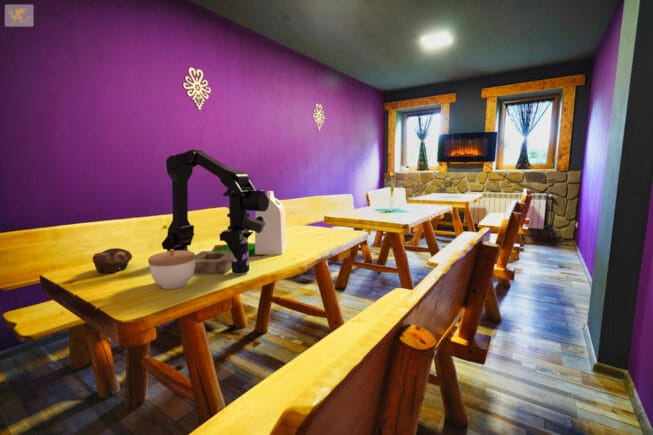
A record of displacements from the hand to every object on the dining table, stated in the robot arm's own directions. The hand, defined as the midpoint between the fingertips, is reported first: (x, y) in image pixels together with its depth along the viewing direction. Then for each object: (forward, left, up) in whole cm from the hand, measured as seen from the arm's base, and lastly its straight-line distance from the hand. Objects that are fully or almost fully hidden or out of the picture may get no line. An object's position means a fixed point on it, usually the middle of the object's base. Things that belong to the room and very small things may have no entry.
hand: (240, 255), depth 101 cm
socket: (-12, +6, -6) cm, 15 cm away
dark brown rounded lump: (-45, +1, -6) cm, 45 cm away
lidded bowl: (-17, -11, -6) cm, 21 cm away
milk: (+4, +30, -6) cm, 31 cm away
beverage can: (0, 0, -6) cm, 6 cm away
